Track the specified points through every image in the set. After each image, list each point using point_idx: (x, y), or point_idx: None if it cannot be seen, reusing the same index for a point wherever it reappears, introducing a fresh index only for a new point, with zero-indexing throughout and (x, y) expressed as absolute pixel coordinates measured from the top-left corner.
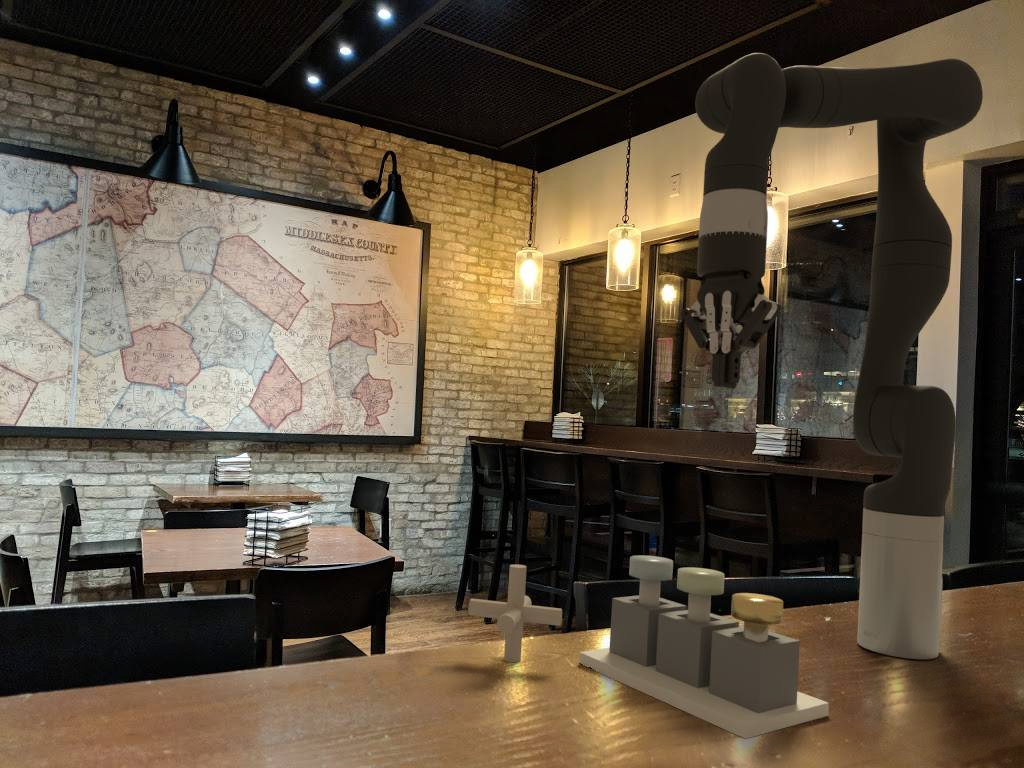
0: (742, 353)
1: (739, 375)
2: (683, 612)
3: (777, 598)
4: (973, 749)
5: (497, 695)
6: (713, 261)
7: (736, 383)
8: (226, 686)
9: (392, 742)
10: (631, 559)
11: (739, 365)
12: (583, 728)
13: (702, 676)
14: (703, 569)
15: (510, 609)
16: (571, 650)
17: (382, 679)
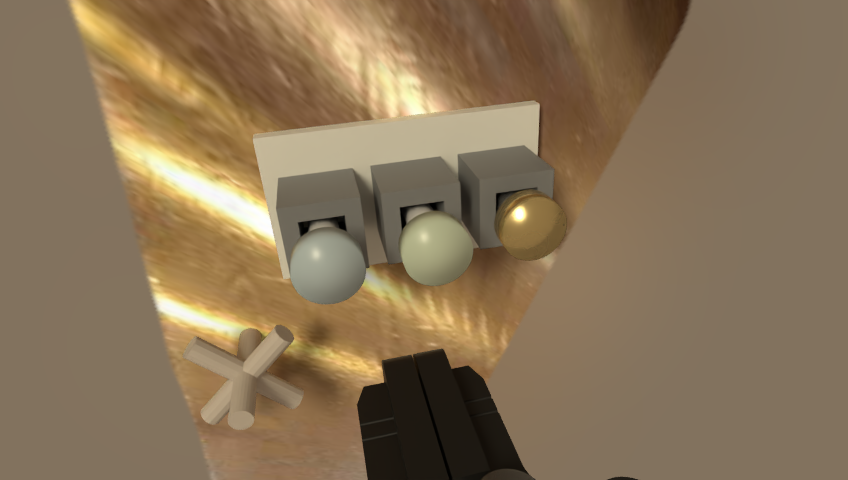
0: (526, 474)
1: (488, 391)
2: (393, 227)
3: (545, 201)
4: (662, 21)
5: (354, 382)
6: None
7: (445, 356)
8: None
9: None
10: (319, 303)
11: (505, 433)
12: (449, 345)
13: None
14: (423, 237)
15: (270, 394)
16: (225, 254)
17: (282, 455)
